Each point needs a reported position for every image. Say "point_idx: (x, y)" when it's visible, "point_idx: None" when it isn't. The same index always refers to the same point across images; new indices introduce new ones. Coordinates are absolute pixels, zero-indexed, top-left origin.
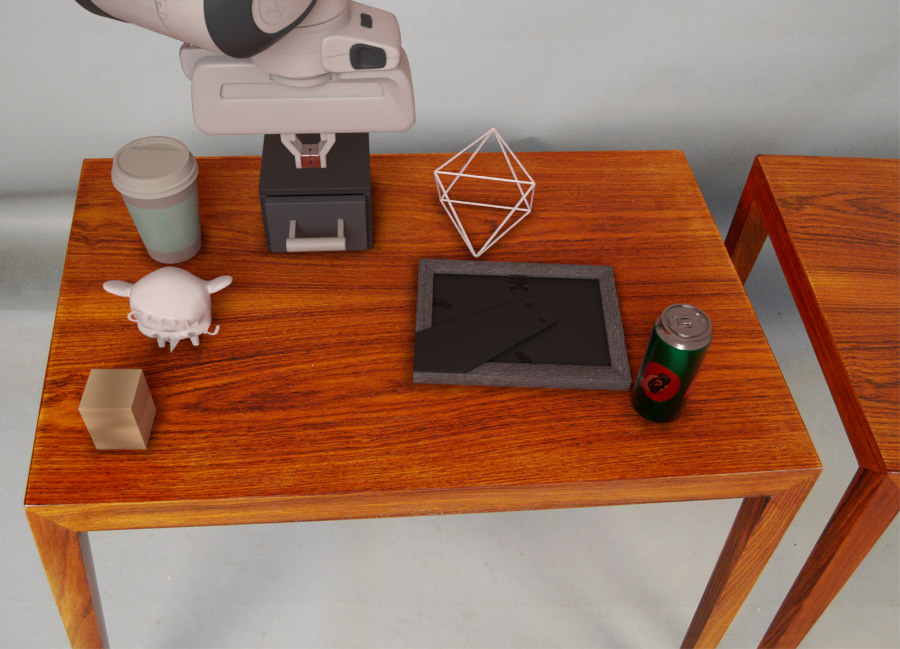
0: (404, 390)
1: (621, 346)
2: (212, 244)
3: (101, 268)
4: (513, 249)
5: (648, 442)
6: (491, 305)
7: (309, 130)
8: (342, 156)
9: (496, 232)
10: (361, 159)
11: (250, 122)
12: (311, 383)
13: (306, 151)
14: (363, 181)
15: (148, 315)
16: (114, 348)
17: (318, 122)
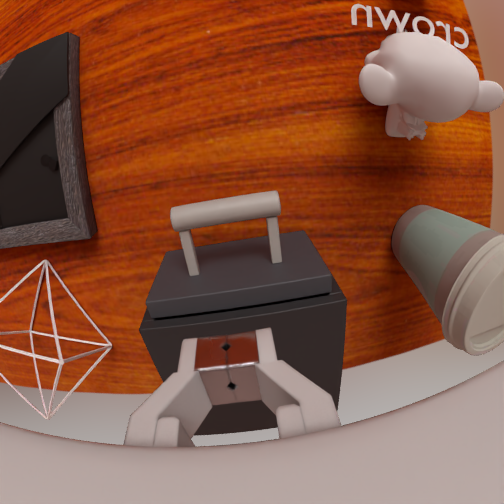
0: (89, 24)
1: None
2: (379, 243)
3: (474, 195)
4: (22, 277)
5: None
6: (7, 175)
7: (206, 460)
8: None
9: (16, 284)
10: None
11: (478, 430)
12: (205, 5)
13: (241, 378)
14: (156, 342)
15: (447, 39)
16: None
17: (158, 498)
